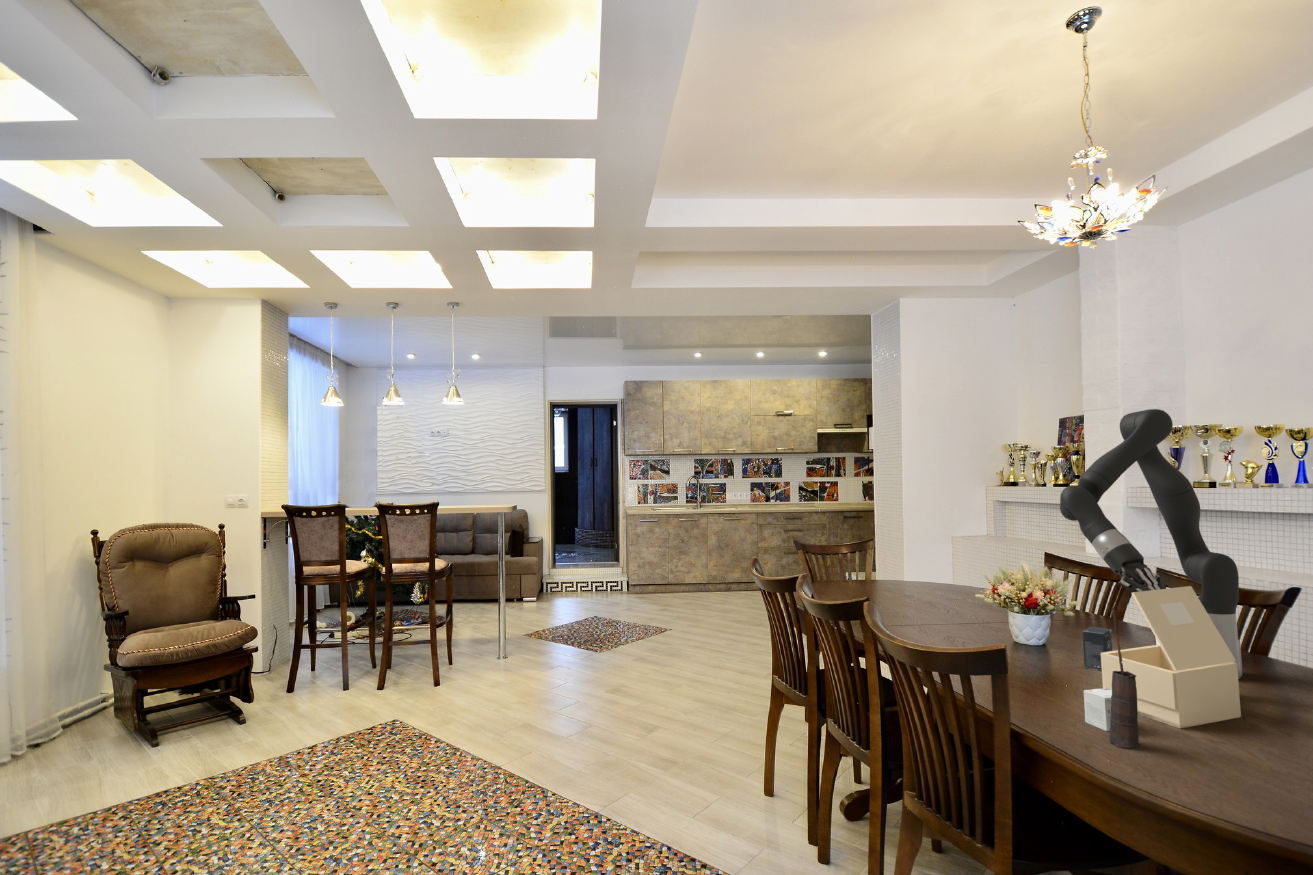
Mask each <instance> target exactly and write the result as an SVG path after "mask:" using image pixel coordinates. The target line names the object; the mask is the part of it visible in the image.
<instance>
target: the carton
mask: <svg viewBox="0 0 1313 875" xmlns="http://www.w3.org/2000/svg"><path fill="white" fill-rule="evenodd" d="M1120 651H1121V657H1122V664H1123V670H1124V671H1128V672H1130V673H1132V674H1134V675H1136V677H1135V680H1136V687H1137V707H1138V708H1137V709H1138V714H1137V715H1138V716H1142V717H1145V718H1148V719H1151V720H1153V721H1157V722H1159V723H1162V724H1166V725H1169V726H1172V727H1174V728H1177V729H1180V730H1181V729H1185V728H1191V727H1195V726H1201V725H1205V724H1210V723H1216V722H1221V721H1227V720H1232V719H1233V720H1234V719H1239V718H1242V714H1241V712H1242V711H1241V701H1240V686H1239V685H1240V683H1239V679H1238V670H1237V663H1235V662H1229V663H1222V664H1216V665H1210V666H1203V667H1197V668H1190V669H1184V670H1177V671H1174V670H1173V668H1172V666H1171V664H1170V662H1169V661H1168V659H1167V657H1166V655H1165V653H1164V652H1163V650H1162V648H1161V646H1160V645H1156V644H1155V645H1154V644H1153V645H1146V646H1140V647H1138V646H1137V647H1132V648H1125V649H1120ZM1101 666H1102V670H1101V680H1102V689H1103V688H1107V689H1110V690H1112V675H1113V674H1112V673H1113V671H1121V669H1120V663H1119V655H1118V649H1117V650H1112V651H1109V652H1102V653H1101Z"/></svg>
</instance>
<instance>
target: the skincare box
mask: <svg viewBox="0 0 1313 875" xmlns="http://www.w3.org/2000/svg"><path fill="white" fill-rule="evenodd" d="M1111 696H1112V690H1110V689H1107V688H1103V687H1102V688H1093V689H1084V690H1083V701H1084V702H1083V703H1084V722H1085V723H1087V724H1088V725H1091V726H1093V727H1096V728H1098V729H1100V730H1102V731H1104V732H1110V718H1111V700H1112V699H1111Z"/></svg>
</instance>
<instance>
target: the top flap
mask: <svg viewBox="0 0 1313 875" xmlns="http://www.w3.org/2000/svg"><path fill="white" fill-rule="evenodd" d="M1131 595H1132V597H1133V599H1134V600H1135V602H1136V604H1137V606H1138V608H1139V610H1140V612H1141V614H1142V615H1143V617H1144V619H1145V620H1146V623H1147V624H1148V626H1149V628H1150V630H1151V632H1152V633H1153V635H1154V637H1156V638H1155V640H1156V639H1157V641H1158V642H1159V644H1160V646H1161V648H1162V650H1163V652H1164V653H1165V655H1166V657H1167V659H1168V661H1169V662H1170V664H1171V666H1172V668H1173V670H1174V671H1177V670H1184V669H1190V668H1197V667H1203V666H1210V665H1216V664H1222V663H1229V662H1235V661H1236V660H1235V658H1234V657H1233V655H1232V653H1231V652H1230V650H1229V648H1228V647H1227V645H1226V643H1225V642H1224V640H1223V638H1222V637H1221V635H1220V633H1219V632H1218V630H1217V628H1216V627H1215V625H1214V623H1213V622H1212V620H1211V618H1210V617H1209V615H1208V613H1207V612H1206V610H1205V608H1204V607H1203V605H1202V603H1201V602H1200V600H1199V598H1198V595H1197V594H1196V592H1195V590H1194V588H1193V587H1192V586H1191V585H1188V586H1179V587H1178V586H1177V587H1171V588H1166V589H1159V590H1150V591H1140V592H1133V593H1132V592H1131Z"/></svg>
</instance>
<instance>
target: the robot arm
mask: <svg viewBox="0 0 1313 875" xmlns="http://www.w3.org/2000/svg"><path fill="white" fill-rule="evenodd" d="M1173 426H1174V425H1173V419H1172V417H1171V416H1170V414H1169V413H1167V412H1166V411H1165V410H1162V409H1160V408H1159V409H1158V408H1151V409H1144V410H1139V411H1134V412H1129V413H1127V414H1124V415H1123V416H1122V417H1121V419H1120V422H1119V431H1120V434H1121V437H1122V439H1123V441H1122V442H1120V443H1119V444H1118V445H1117V446H1115V447H1114V448H1112V449H1110V450H1109V451H1107V452H1106V453H1104V454H1102V455H1101V456H1099V458H1097V459H1096V460H1095V461H1094V462H1092V464H1091V465H1090V466H1089V467H1088V468H1087V469H1086V470H1085V471H1084V472H1083V474H1082V475H1081V476H1080V478H1079V481H1078V483H1077V485H1076V484H1073V485H1069V486H1065V488H1064V489H1063V490H1062V492H1061V493H1060V500H1059V511H1060V514H1061V515H1062V516H1063V518H1065V519H1066V520H1069V521H1074V522H1076V521H1077V522H1078V525H1079V528H1080V531H1081V533H1082V534H1083V536H1084V537H1085V538H1086V539H1087V540H1088V541H1089V543H1090V544H1091V545H1092V547H1093V548H1094V550H1095V551H1096V552H1097V554H1098V555H1099V557H1101V559H1102V560H1103V561H1104V563H1105V564H1107V566H1108V567H1109V569H1111V570H1112V572H1113V573H1114V574H1115V575H1119V576H1120V578H1121V579H1120V580H1119V581H1118V585H1119V586H1121V587H1122V588H1124V589H1126V590H1127V591H1129V592H1131V593H1133V592H1140V591H1150V590H1159V589H1167V585H1166V580H1165V575H1164V573H1162V572H1158V573H1156V572H1153V571H1152V570H1151V568H1149V567H1148V566H1147V565H1145V562H1144V559H1145V558H1144V556H1143V555H1142V553H1141V552H1140V551H1139V550H1138V549H1137V548H1136V547H1135V546H1134V545H1133V543H1132V542H1130V541H1129V539H1128V538H1127V536H1125V535H1124V534H1123V533H1121V532H1120V531H1119V530H1118V528H1117V527H1115V525H1114V524H1113V523H1112V522H1111V521H1110V519H1108V518H1107V516H1106V515H1105V513H1104V511H1103V510H1102V508H1101V506H1100V505H1099V501H1100V500H1101V498H1102V497H1103V495H1104V494H1105V493H1106V492H1107V491H1108V490H1109V489H1110V488H1111V487H1112V486H1113V485H1114V483H1116V481H1117V480H1118V479H1119V478H1120V477H1121V476H1122V475H1123V474H1124V473H1125V472H1126V471H1127V470H1128V469H1129V468H1130V467H1131V466H1132V465H1134V464H1135V463H1137V464H1138V467H1139V468H1140V471H1141V472H1142V474H1143V476H1144V479H1145V481H1146V483H1147V485H1148V486H1149V489H1150V491H1151V494H1152V497H1153V499H1154V501H1155V503H1156V506H1157V507H1158V508H1157V509H1159V511H1160V513H1161V515H1162V517H1163V520H1164V522H1165V524H1166V527H1167V529H1168V531H1169V534H1170V536H1171V538H1172V540H1173V543H1174V545H1175V549H1176V552H1177V556H1178V559H1179V562H1180V565H1181V568H1182V570H1183V572H1184V574H1185V575H1186V577H1188V579H1189V580H1190V581H1192V582H1194V583H1197V584H1199V585H1201V593H1200V596H1199V597H1198V596H1197V597H1198V598H1199V600H1200V602H1201V603H1202V605H1203V607H1204V608H1205V610H1206V612H1207V613H1208V615H1209V617H1210V618H1211V620H1212V622H1213V623H1214V625H1215V627H1216V628H1217V630H1218V632H1219V633H1220V635H1221V637H1222V638H1223V640H1224V642H1225V643H1226V645H1227V647H1228V648H1229V650H1230V652H1231V653H1232V655H1233V657H1234V658H1235V660H1236V661H1235V663H1237V670H1238V680H1239V679H1241V677H1243V664H1242V663H1243V662H1242V652H1241V641H1240V640H1239V637H1238V636H1239V635H1238V623H1237V622H1238V621H1237V610H1236V609H1237V605H1238V604H1239V600H1240V592H1239V591H1240V590H1239V588H1240V585H1239V584H1240V583H1239V582H1240V581H1239V580H1240V578H1239V570H1238V569H1239V568H1238V567H1237V564H1236V562H1235V561H1234V559H1233V558H1232V557H1230V556H1229V555H1226V554H1224V553H1219V552H1214V551H1211V550H1209V548H1208V546H1207V545H1206V542H1205V540H1204V538H1203V535H1202V534H1201V530H1200V521H1201V504H1200V501H1199V500H1200V499H1199V497H1197V494H1196V491H1195V489H1194V488H1193V486H1192V483H1191V481H1189V479H1188V477H1186V476H1185V475H1184V473H1183V472H1181V470H1179V469H1178V468H1176V467H1175V466H1174V465H1173V464H1172V463H1170V462H1169V461H1168V460H1167V459H1166V458H1165V456H1164V455H1163V454H1162V453H1161V451H1160V449H1159V446H1158V445H1160V443H1162V442H1163V441H1164V440H1166V439H1167V438H1168V437H1169V436H1170V434H1171V432H1172V430H1173V428H1174V427H1173Z"/></svg>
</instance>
